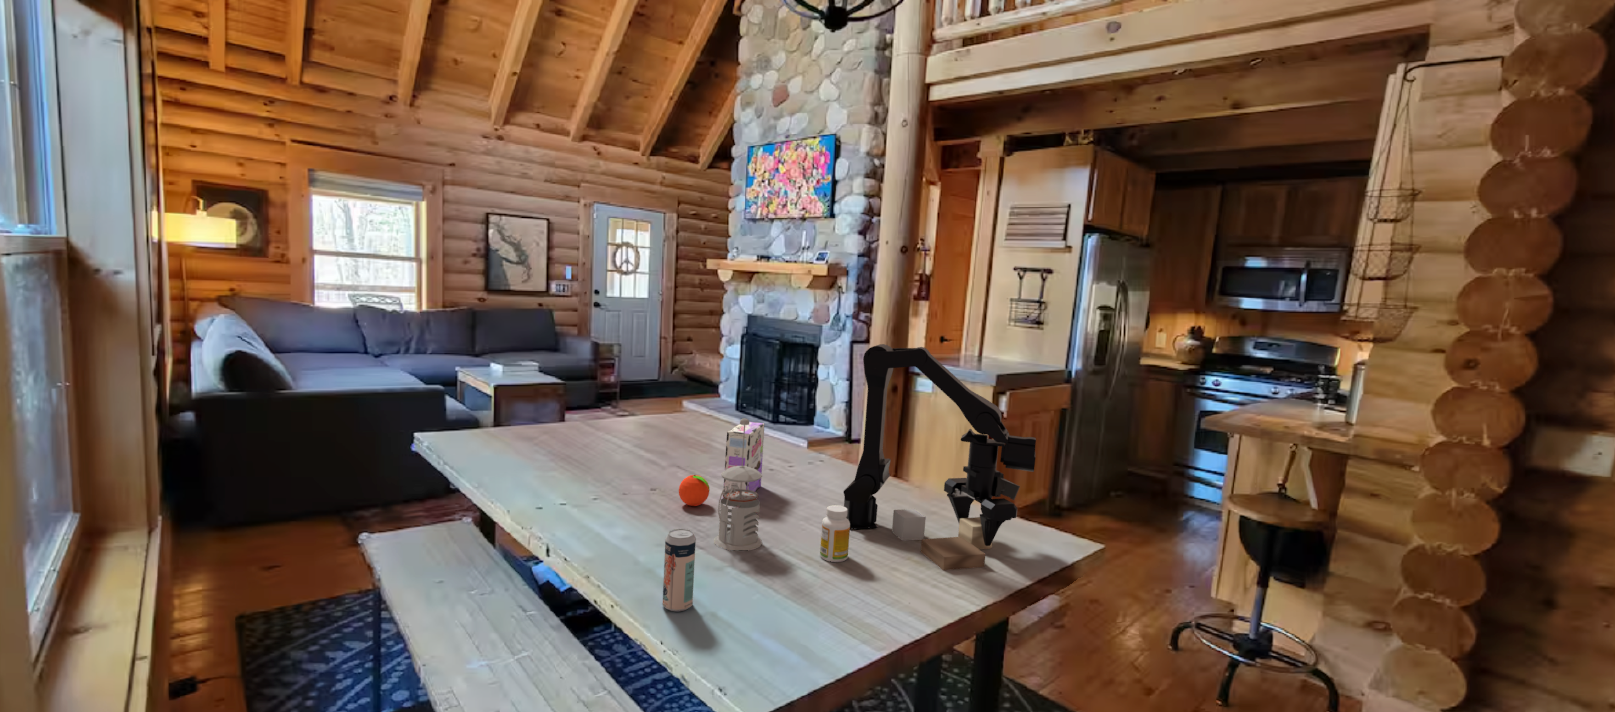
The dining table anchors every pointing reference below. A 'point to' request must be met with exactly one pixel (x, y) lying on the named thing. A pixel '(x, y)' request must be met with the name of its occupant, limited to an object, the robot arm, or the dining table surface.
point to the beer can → (679, 570)
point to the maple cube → (972, 532)
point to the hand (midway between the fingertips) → (975, 537)
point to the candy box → (745, 452)
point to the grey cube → (908, 524)
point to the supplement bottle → (835, 534)
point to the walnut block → (952, 553)
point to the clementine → (694, 490)
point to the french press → (739, 509)
